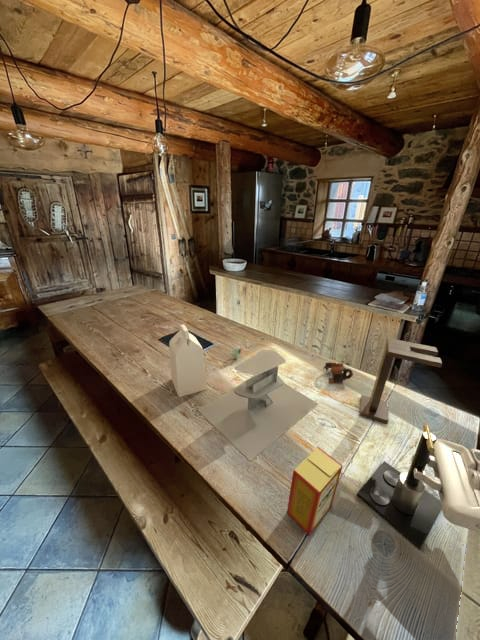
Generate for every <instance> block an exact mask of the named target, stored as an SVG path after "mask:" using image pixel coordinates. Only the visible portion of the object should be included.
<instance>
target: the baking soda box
mask: <svg viewBox="0 0 480 640" xmlns="http://www.w3.org/2000/svg"><path fill="white" fill-rule="evenodd" d="M342 469H343V464H341V462H339V461H338V460H336V459H335V458H334V457H332V456H331V455H330V454H329V453H327V452H326V451H325V450H323V449H322V448H320V447H319V446H317V447H315V449H313V450H312V451H311V453H309V455H308V456H307V457H305V459H304V460H302V462H300V463H299V464H298V465H297V466H296V467H295V468H294V469H293V472H292V476H291V483H290V490H289V497H288V503H287V509H286V513H287V514H288V515H289V516H290V517H291V518H292V520H293V521H294V522H296V524H297V525H298V526H299V527H300V528H301V529H302V530H303V531H304V532H305V533H306V534H307V535H308V536H310V535H311V534H312V532H314V530H315V529H316V528H317V526H318V525H319V523H320V522H321V521H322V519H323V518H324V517H325V516H326V515H327V513H328V512H329V511H330V509H331V508H332V506H333V501H334V498H335V494H336V492H337V488H338V483H339V480H340V477H341V473H342Z"/></svg>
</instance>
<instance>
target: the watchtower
mask: <svg viewBox="0 0 480 640" xmlns="http://www.w3.org/2000/svg"><path fill="white" fill-rule="evenodd" d="M286 362H287V359H285V358H284V357H283V356H282V355H281V354H280V353H279V352H278V351H276V350H274V349H262V350H260V351H258V352H256V353H255V354H254V355H252V356H250V357H248V358H247V359H245V360H244V361H242V362H240V363H239V364H237V365H236V366H234V370H236V372H239V373H242V374H246V375H251V377H250V378H248V379H246V380H245V381H244V382H241V383H240V384H238V385H237V386H234V387H233V388H231V389H230V390H227V391H226V392H224V393H223V394H221V395H219V396H217V397H215V398H214V399H212V400H210V401H208V402H207V403H205V404H203V405H202V406H200V407H198V408H196V410H197V412H199V414H201V415H202V417H204V418H205V419H206V420H207V421H208V423H210V425H212V426H213V427H214V428H215V429H216V430H217V432H219V433H220V434H221V435H222V436H223V437H224V438H226V439H227V441H229V442H230V443H231V444H232V446H234V447H235V448H236V449H237V450H238V452H240V453H241V454H242V455H243V456H244V457H245V458H246V459H247V460H248V461H249V462H252V461H253V460H254V459H255V458H257V457H258V456H259V455H260V454H261V453H263V452H264V451H265V450H266V449H267V448H268V447H270V445H273V443H274V442H276V441H277V440H278V439H279V438H280V437H281V436H283V435H284V434H285V433H286V432H288V430H290V429H291V428H292V427H293V426H294V425H296V423H298V422H299V421H300V420H302V418H303V417H305V416H307V414H308V413H310V412H311V411H312V410H313V409H314V408H315V407H316V406H318V405H319V403H318V402H317V401H316V400H313V399H311V398H310V397H308V396H306V395H305V394H303V393H302V392H300V391H299V390H297V389H295V388H293V387H292V386H290V385H289V384H287V383H285V382H284V380H283V379H282V378H281V377H280V376H279V374H278V373H279V366H280V365H283V364H284V363H286Z"/></svg>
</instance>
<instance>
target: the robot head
mask: <svg viewBox="0 0 480 640" xmlns="http://www.w3.org/2000/svg"><path fill="white" fill-rule="evenodd" d="M241 352H242V349H241V346H240V345H234V346H233V347H232V349H231V351H230V353H229V354H230V355H231V356H232V358H233V359H235V360H236V359H238V358H239V357H240V355H241V354H242V353H241Z"/></svg>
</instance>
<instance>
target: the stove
mask: <svg viewBox="0 0 480 640" xmlns="http://www.w3.org/2000/svg"><path fill="white" fill-rule="evenodd" d="M401 473H402V472H401V471H399V470H398V469H396V468H395V467H394V466H392V465H391V464H389V463H388V462H386V461H385V460H384V461H382V463H381V464H380V465H379V466H378V467H377V469H376V470H375V471H374V473H372V474H371V476H370V477H369V478H368V480H367V481H366V482H365V483H364V484H363V486H362V487H361V488H360V489H359V490H358V492H357V493H356V497H358V498H359V500H361V501H362V502H363V503H365V504H366V505H367V506H368V507H369V508H370V509H372V510H373V511H374V512H375V513H376V514H377V515H379V517H381V518H382V519H383V520H384V521H385V522H386V523H388V524H389V525H390V526H391V527H392V528H393V529H395V530H396V531H397V532H398V533H399V534H400V535H402V537H404V538H405V539H406V540H407V541H409V542H410V543H411V544H412V545H413V546H414V547H416V548H417V549H418V550H421V548H422V546H423V544H424V542H425V541H426V539H427V536H428V534H429V533H430V531H431V529H432V527H433V525H434V523H435V521H436V519H437V517H438V516H439V514H440V512H441V511H442V506H441V502H440V499H439V498H437V497H436V496H434V495H433V494H431V493H430V492H429V491H428V490H426V489H424V492H423V494H422V497H421V499H420V501H419V504H418V506H417V509H416V511H415V513H414V514H410V515H409V514H405V513H403V512H401V511H399V510H398V509H397V508H396V507H395V505H394V504H393V501H392V496H393V493H394V490H395V487H396V485H397V482H398V479H399V476H400V474H401Z"/></svg>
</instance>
